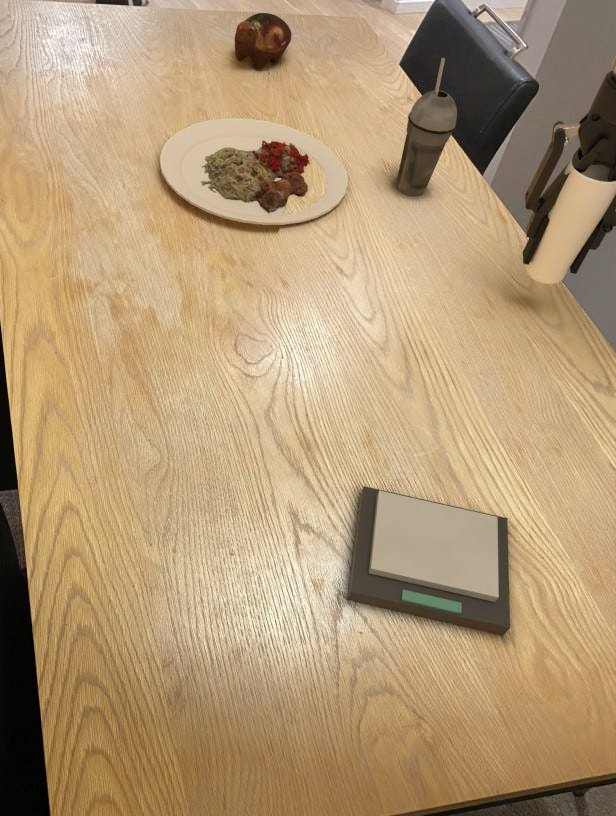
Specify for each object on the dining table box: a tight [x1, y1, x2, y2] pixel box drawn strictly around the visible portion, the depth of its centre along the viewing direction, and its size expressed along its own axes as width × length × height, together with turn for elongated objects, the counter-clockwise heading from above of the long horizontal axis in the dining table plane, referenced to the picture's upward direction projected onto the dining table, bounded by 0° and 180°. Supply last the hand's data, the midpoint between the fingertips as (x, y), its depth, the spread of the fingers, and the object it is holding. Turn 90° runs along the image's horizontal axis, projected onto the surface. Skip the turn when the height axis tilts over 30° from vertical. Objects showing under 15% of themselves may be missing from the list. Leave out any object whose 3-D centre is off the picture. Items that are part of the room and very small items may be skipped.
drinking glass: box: [525, 158, 616, 285], centre depth 98 cm, size 7×7×15 cm
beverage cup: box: [395, 57, 458, 198], centre depth 115 cm, size 7×7×20 cm
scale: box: [346, 485, 511, 637], centre depth 80 cm, size 16×14×4 cm
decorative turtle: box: [234, 12, 292, 71], centre depth 142 cm, size 10×15×8 cm, turn 143°
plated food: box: [159, 117, 349, 226], centre depth 120 cm, size 30×30×3 cm
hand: (549, 262), depth 103 cm, fingers closed on drinking glass, 6 cm apart
